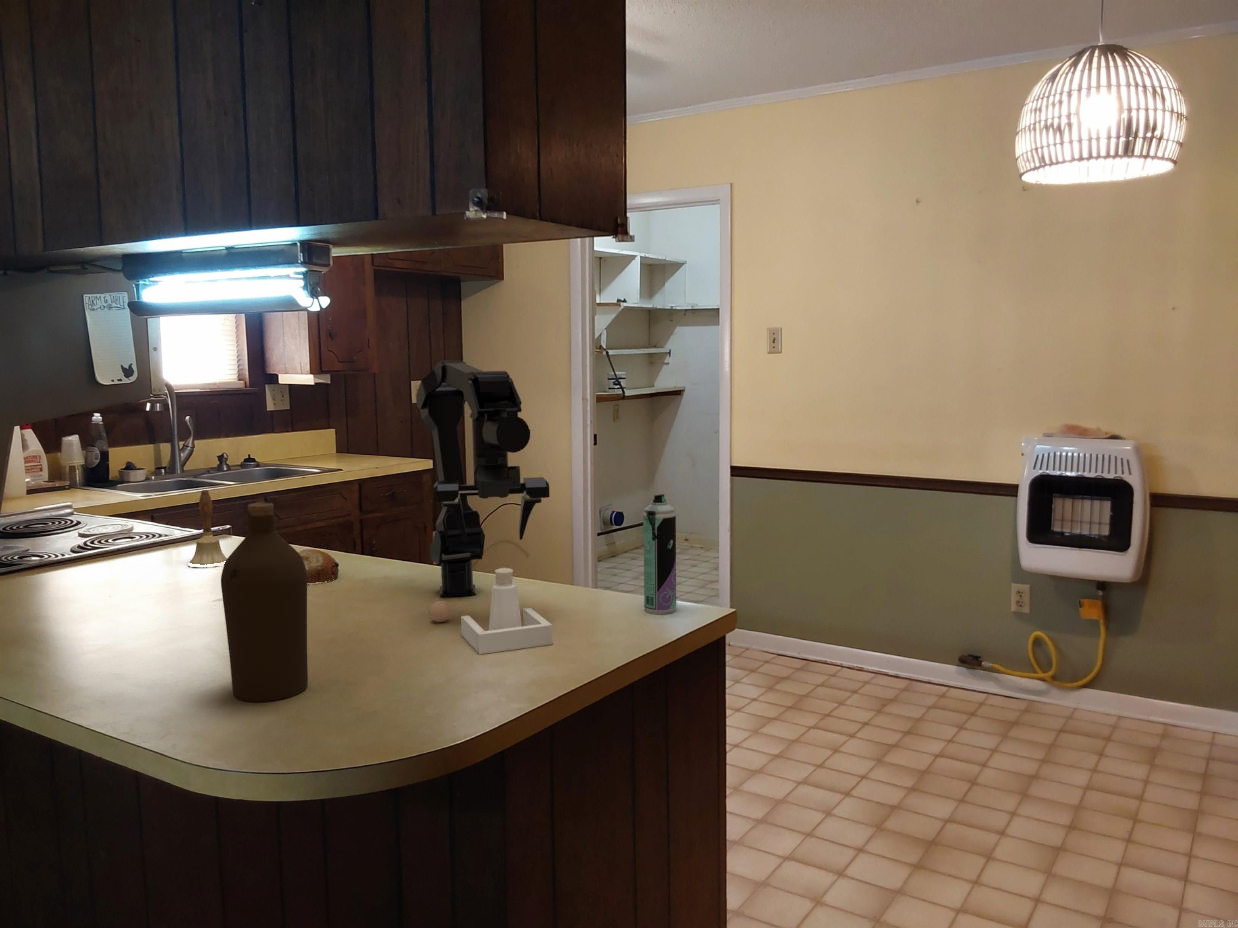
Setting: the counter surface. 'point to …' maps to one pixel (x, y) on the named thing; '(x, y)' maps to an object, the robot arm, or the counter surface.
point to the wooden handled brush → (207, 536)
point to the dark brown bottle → (265, 612)
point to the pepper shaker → (504, 602)
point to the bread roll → (319, 565)
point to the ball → (440, 611)
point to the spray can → (659, 557)
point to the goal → (508, 634)
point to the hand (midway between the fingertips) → (493, 540)
